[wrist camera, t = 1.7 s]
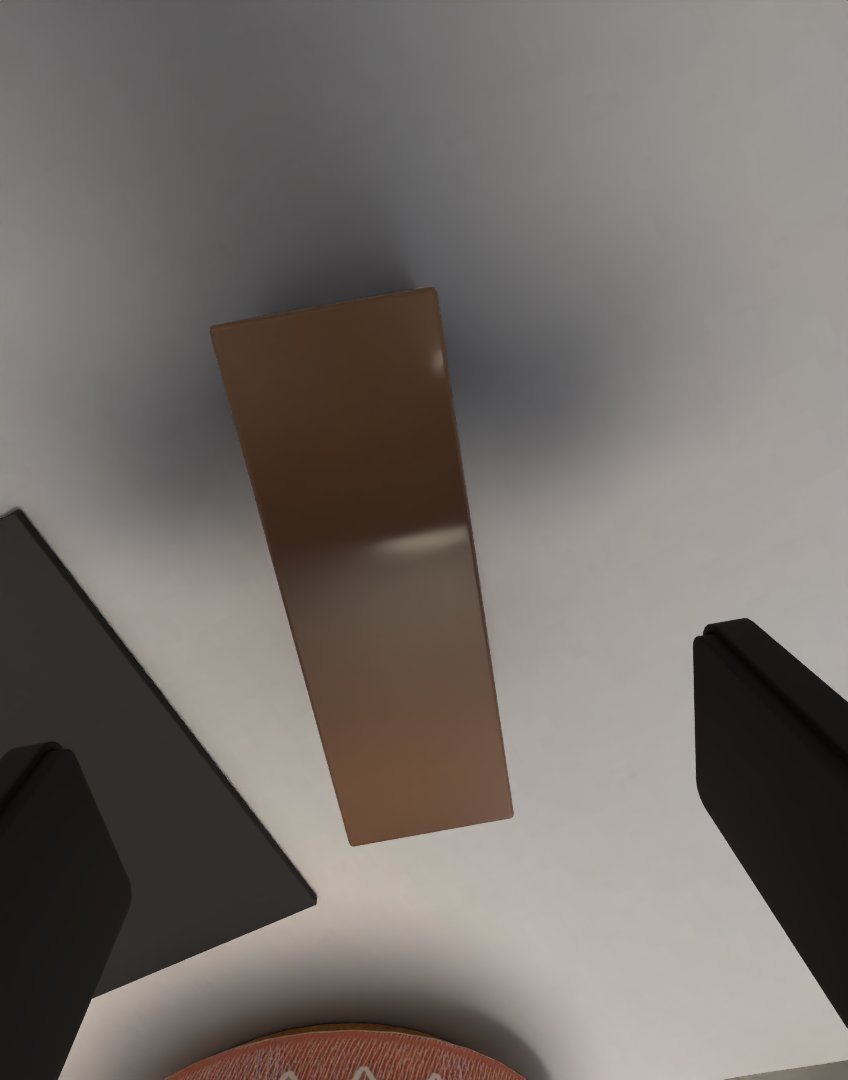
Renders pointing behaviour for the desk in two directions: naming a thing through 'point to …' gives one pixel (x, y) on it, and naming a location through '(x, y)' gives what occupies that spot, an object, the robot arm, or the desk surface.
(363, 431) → the bar
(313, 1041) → the planter
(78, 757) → the black mat
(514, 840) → the desk surface
